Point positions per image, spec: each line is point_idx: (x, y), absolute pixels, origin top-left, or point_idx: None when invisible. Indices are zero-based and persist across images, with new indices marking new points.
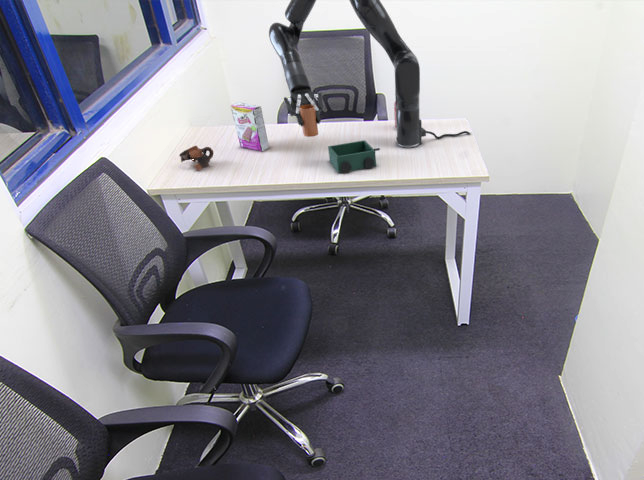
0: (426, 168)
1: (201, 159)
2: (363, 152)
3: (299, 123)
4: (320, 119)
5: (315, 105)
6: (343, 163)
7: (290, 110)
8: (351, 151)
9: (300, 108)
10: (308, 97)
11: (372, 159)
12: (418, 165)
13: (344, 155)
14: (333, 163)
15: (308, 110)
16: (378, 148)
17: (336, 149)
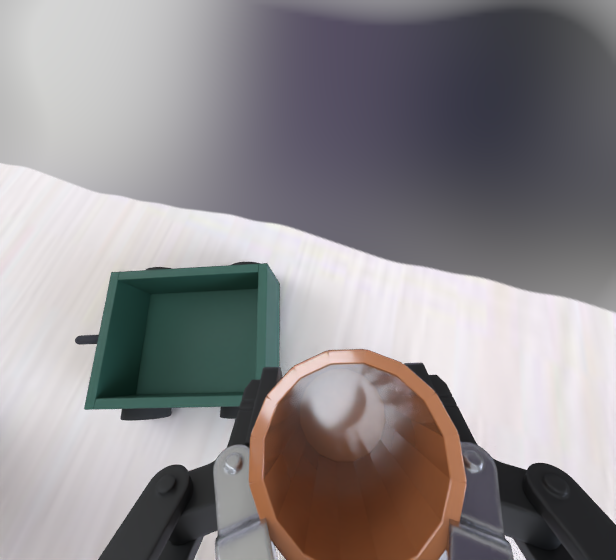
0: (37, 225)
1: None
2: (157, 271)
3: (434, 380)
4: (252, 383)
5: (222, 517)
6: (253, 262)
7: (581, 496)
8: (177, 394)
9: (446, 427)
10: None
11: (147, 269)
12: (41, 252)
13: (233, 269)
14: (276, 338)
15: (350, 349)
16: (79, 337)
17: (233, 394)
